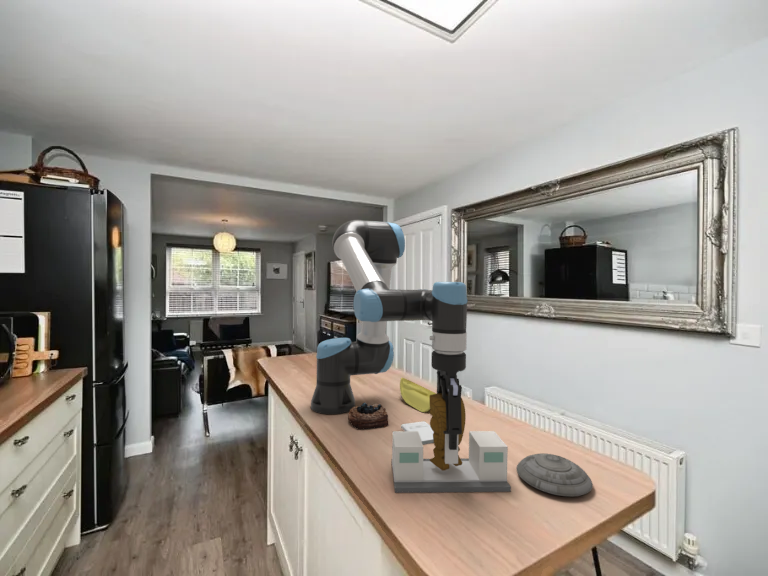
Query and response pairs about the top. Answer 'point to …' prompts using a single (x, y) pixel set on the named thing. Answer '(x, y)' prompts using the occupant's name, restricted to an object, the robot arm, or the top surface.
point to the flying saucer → (554, 475)
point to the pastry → (368, 416)
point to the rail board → (450, 466)
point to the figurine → (439, 426)
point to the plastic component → (415, 395)
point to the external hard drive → (420, 431)
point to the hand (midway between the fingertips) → (447, 453)
